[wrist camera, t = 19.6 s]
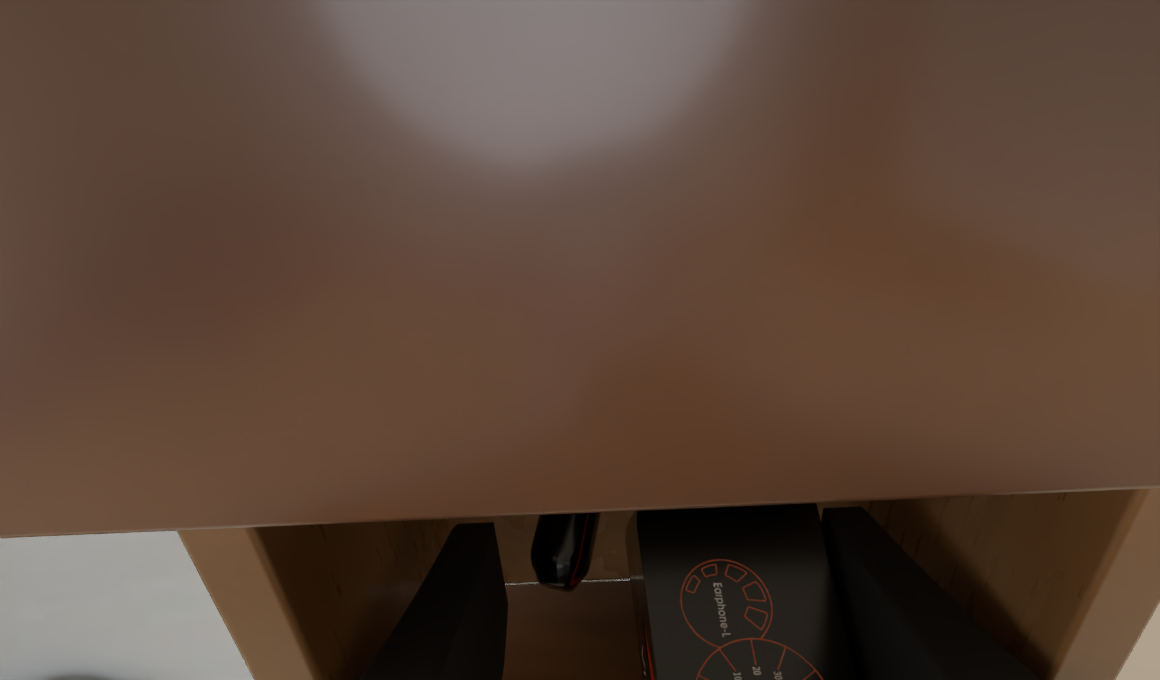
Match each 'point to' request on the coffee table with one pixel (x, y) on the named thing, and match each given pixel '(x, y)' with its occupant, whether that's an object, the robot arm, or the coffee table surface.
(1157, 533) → the drawer
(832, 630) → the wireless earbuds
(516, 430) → the cabinet
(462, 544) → the robot arm
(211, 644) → the coffee table surface
